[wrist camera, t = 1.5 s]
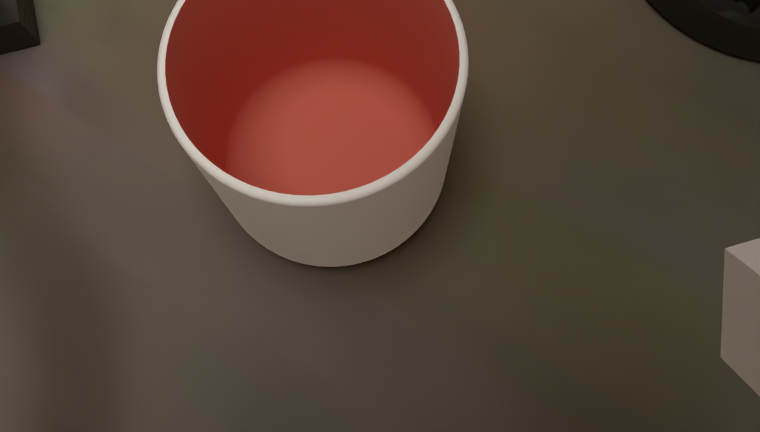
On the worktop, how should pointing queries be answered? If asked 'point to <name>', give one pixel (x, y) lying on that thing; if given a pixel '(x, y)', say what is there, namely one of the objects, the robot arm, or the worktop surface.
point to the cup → (318, 116)
